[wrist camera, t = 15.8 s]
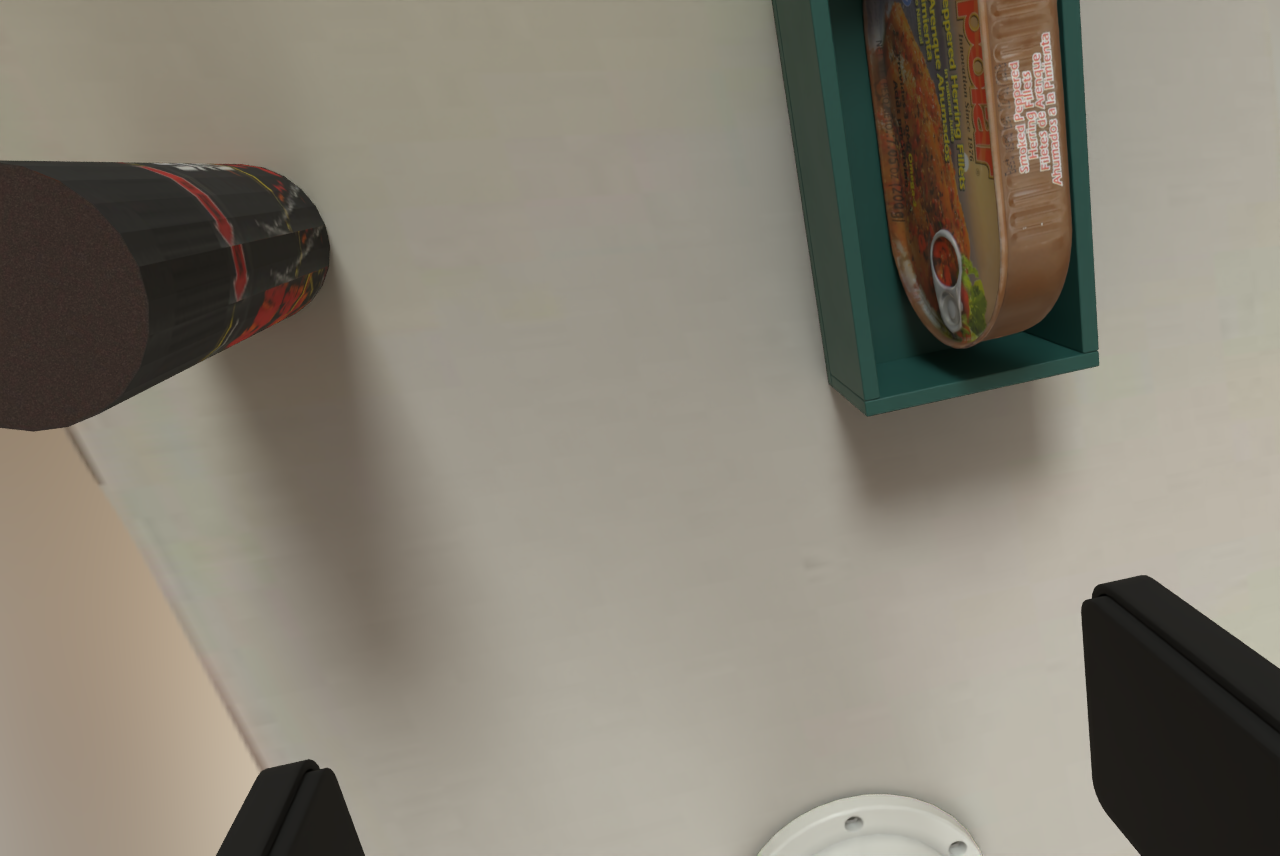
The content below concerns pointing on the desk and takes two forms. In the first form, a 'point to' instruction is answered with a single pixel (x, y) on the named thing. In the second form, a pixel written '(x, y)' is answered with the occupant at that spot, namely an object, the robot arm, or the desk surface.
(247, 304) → the deodorant
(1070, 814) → the desk surface
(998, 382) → the box
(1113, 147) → the desk surface
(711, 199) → the desk surface
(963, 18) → the tin
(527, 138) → the desk surface
